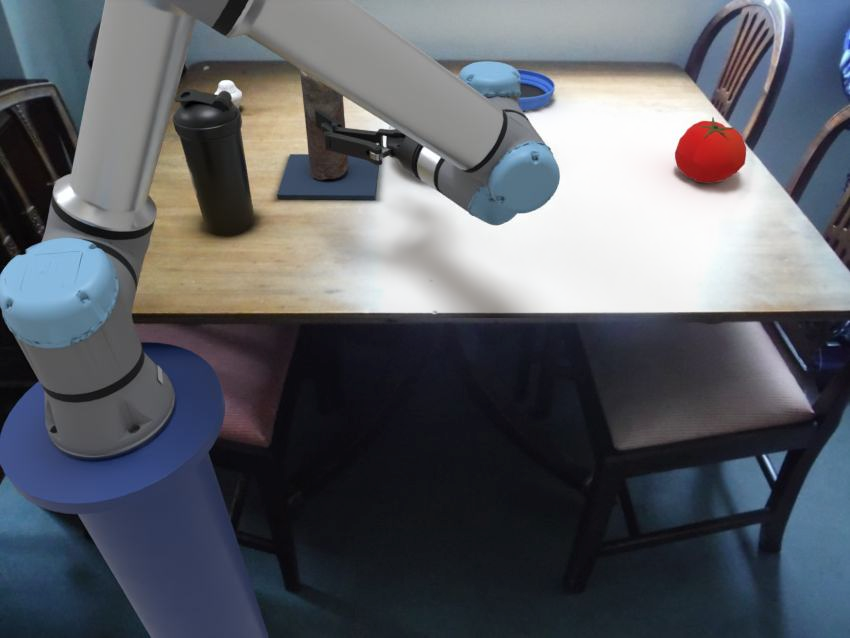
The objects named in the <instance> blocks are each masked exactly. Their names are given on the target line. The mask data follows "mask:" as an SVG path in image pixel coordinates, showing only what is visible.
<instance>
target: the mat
mask: <svg viewBox="0 0 850 638" xmlns="http://www.w3.org/2000/svg"><path fill="white" fill-rule="evenodd" d="M379 166H380V165H375V164H373V163H371V162H369V161H367V160H364V159H360V158H356V157H352V156H348V169H347V170H346V172H345V173H344V174H343V175H342V176H340V177H337V178H336V179H324V180H318V179H316V178H313V177H312V176H311V172H310V163H309V155H308V153H307V154H305V153H303V154H302V153H290V154H289V157H288V159H287V162H286V166H285V169H284V171H283V175H282V177H281V180H280V181H281V182H280V184H279V187H278V191H277V194H276V198H277V200H319V201H321V200H323V201H324V200H325V201H326V200H327V201H329V200H331V201H333V200H335V201H341V200H342V201H376V198H377V197H376V196H377V186H378V176H379Z"/></svg>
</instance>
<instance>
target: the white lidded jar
mask: <svg viewBox="0 0 850 638" xmlns="http://www.w3.org/2000/svg"><path fill="white" fill-rule="evenodd" d="M217 85H218V86H217V89H216V91H215V92H214V94H215V95H218V94H219V93H220V92H221V91H227V92H229V93H230V94H231V97H232V100H231V101H232V103H233V104H234V105H235V106H236V107H237V108H238V109H239V110H240V106H241V104H242V99H243V93H242V91H241V90H240V89H239V88H238V87H237V86H236V84H235V83H234V82H233V81H232V80H229V79H225V80H221V81H219V83H218V84H217Z"/></svg>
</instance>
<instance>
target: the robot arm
mask: <svg viewBox="0 0 850 638" xmlns="http://www.w3.org/2000/svg"><path fill="white" fill-rule="evenodd" d="M197 21H199V22H200V23H202V24H204V25H206V26H207V27H210V28H211V29H212V30H214V31H215V32H216V33H218V34H220V35H222V36H224V37H226V38H227V39H231V38H236V37H240V36H246V37H248V38H250V40H253V41H254V42H256V43H258V44H259V45H261V46H262V47H264V48H265V49H267V50H269V51H270V52H271V53H273V54H275V55H277V56H278V57H280V58H282V59H283V60H284V61H286V62H287V63H290V64H291V65H293V66H294V67H296V68H297V69H299V70H300V69H301V70H302V71H304V72H306V73H307V74H309V75H310V76H312V77H314V78H315V79H317V80H318V81H320V82H322V83H323V84H325V85H326V86H328V87H330V88H331V89H333V90H334V91H336V92H338V93H339V94H341V95H342V96H343V98H346V99H347V100H349V101H350V102H352V103H353V104H355V105H357V106H358V107H360V108H362V109H363V110H364V111H367V112H368V113H370V114H371V115H373V116H374V117H376V118H378V119H379V120H380V121H382V122H384V123H386V124H387V125H388V126H392V127H394V128H395V129H393V130H389V128H388V129H387V128H378V130H368V129H358V128H350V127H345V128H342V127H341V123H339V122H338V121H336V120H335V119H333V118H331V117H330V116H328V115H327V114H325V113H324V112H322V111H321V110H319V109H318V110H315V120H316V127H317V128H319V129H320V130H322V134H323V135H324V140H325V149H326V150H328V151H332V152H336V153H340V154H344V155H348V156H352V157H356V158H360V159H364V160H367V161H369V162H371V163H373V164H375V165H379V166H381V165H383V159H385V158H388V157H390V158H392V159H397V160H398V162H399V163H400V165H401V167H403V169H404V170H405V172H408V173H409V174H411V175H412V176H414V177H415V178H416V179H418V180H420V181H422V182H423V183H424V184H426V185H427V186H429V187H431V188H432V189H434V190H435V191H436V192H438V193H440V194H441V195H443V196H444V197H445V198H447V199H449V200H450V201H451V202H453V203H454V204H456V205H457V206H458V207H460V208H462V209H463V210H464V211H465V212H467V213H468V214H469V215H470V216H472V217H474V218H476V219H478V220H480V221H482V222H483V223H486V224H487V225H491V226H500V225H503V224H505V223H508V222H510V221H511V220H512V219H514V218H515V217H516V216H517V215H518V214H528V213H532V212H534V211H537V210H539V209H541V208H542V207H544V206H545V205H546V204H547V203H548V202H549V201H550V200H551V199H552V197H553V196H554V195H555V194H556V192H557V190H558V187H559V184H560V181H561V171H560V167H559V164H558V162H557V160H556V158H555V156H554V153H553V151H552V148H551V147H550V146H549V145H547V144H546V143H545V141H544V139H543V138H542V137H541V135H540V134H539V133H538V132H537V130H536V128H535V127H534V126H533V124H532V123H531V121H530V120H529V118H528V117H527V115H526V113H525V111H522V109H521V108H520V107H519V97H520V95H521V91H520V74H519V72H518V71H517V70H516V69H517V68H515V67H514V66H513V65H510V64H507V63H504V62H500V61H499V62H498V61H491V60H489V61H488V60H487V61H486V60H485V61H476V62H472V63H470V64H467V65H466V66H464V67H463V68H462V69H461V70H460V72H459V74H458V76H457V75H456V74H454V73H453V72H452V71H450V70H449V69H448V68H447V67H445V66H443V65H442V64H441V63H440V62H438V61H436V60H435V59H433V58H432V57H431V56H429V55H428V54H426V53H425V52H424V51H422V50H421V49H420V48H418V47H417V46H416V45H414V44H413V43H411V42H410V41H408V40H407V39H406V38H404V37H403V36H401V35H400V34H399V33H398V32H396V31H395V30H393V29H392V28H390V27H389V26H388V25H386V24H385V23H384V22H382V21H381V20H379V19H378V18H377V17H376V16H373V15H372V14H371V13H369V12H368V11H367V10H366V9H364V8H363V7H361V6H360V5H358V4H357V3H356V2H355V1H353V0H104V5H103V9H102V15H101V19H100V26H99V31H98V35H97V40H96V46H95V49H94V50H95V51H94V54H93V55H94V56H93V61H92V66H91V71H90V76H89V81H88V87H87V92H86V97H85V101H84V107H83V113H82V117H81V122H80V127H79V132H78V138H77V143H76V148H75V153H74V157H73V163H72V168H71V173H69V174H66V175H64V176H61V177H60V178H59V179H57V181H56V182H55V184H54V186H53V190H52V195H51V199H50V204H49V210H48V211H49V212H48V216H47V221H46V225H45V226H46V227H45V231H44V233H43V237H42V239H41V242H39V243H36V244H34V245H31V246H29V247H28V248H26V249H25V254H17V255H16V256H14V257H13V258H12V259H10V261H9V262H8V263H7V264H6V266H4V268H3V270H2V271H1V273H0V309H1V315H2V318H3V320H4V323H5V325H7V328H8V329H9V332H11V333H12V335H13V336H14V338H15V340H16V342H17V344H18V346H19V347H20V349H21V350H22V353H23V354H24V356H25V358H26V360H27V362H28V363H29V365H30V367H31V369H32V370H33V372H34V374H35V376H36V378H37V380H38V382H39V381H40V383H41V385H42V387H43V389H44V393H45V423H46V428H47V431H48V434H49V436H50V438H51V440H52V442H53V443H54V445H55V447H56V448H57V449H58V450H59V451H60V452H61V453H63V454H65V455H66V456H68V457H71V458H74V459H77V460H82V461H104V460H110V459H115V458H119V457H122V456H125V455H127V454H130V453H132V452H134V451H136V450H138V449H140V448H142V447H144V446H145V445H147V444H148V443H150V442H151V441H152V440H154V439H155V438H156V437H157V436H158V435H159V434H160V433H161V432H162V431H163V430H164V429H165V428H166V427H167V425H168V424H169V422H170V421H171V419H172V417H173V415H174V412H175V409H176V394H175V391H174V388H173V385H172V383H171V381H170V380H169V378H168V376H167V375H166V374H165V373H164V372H163V371H162V369H161V368H160V367H159V366H158V367H157V366H156V365H155V363H154V362H153V361H152V360H151V359H150V358H149V357H148V356H147V355H146V354H145V353H144V350H143V348H142V345H141V342H142V341H141V339H140V336H139V334H138V332H137V329H136V326H135V323H134V320H133V307H134V303H135V299H136V294H137V290H138V285H139V282H140V277H141V273H142V269H143V265H144V262H145V258H146V255H147V252H148V249H149V247H150V243H151V242H150V241H151V236H152V233H153V229H154V226H155V222H156V219H157V213H158V210H157V209H158V208H157V206H156V203H155V201H154V199H153V198H152V197H151V196H150V195H149V194H150V191H151V187H152V184H153V180H154V177H155V173H156V169H157V166H158V161H159V158H160V154H161V151H162V148H163V143H164V139H165V136H166V132H167V128H168V125H169V122H170V117H171V114H172V111H173V107H174V103H175V98H176V96H177V92H178V90H179V89H178V88H179V86H180V81H181V78H182V74H183V70H184V66H185V63H186V60H187V56H188V52H189V50H190V49H189V48H190V46H191V41H192V38H193V34H194V30H195V27H196V23H197ZM384 137H385V138H386V139H385V140H386V141H385V146H384Z"/></svg>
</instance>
